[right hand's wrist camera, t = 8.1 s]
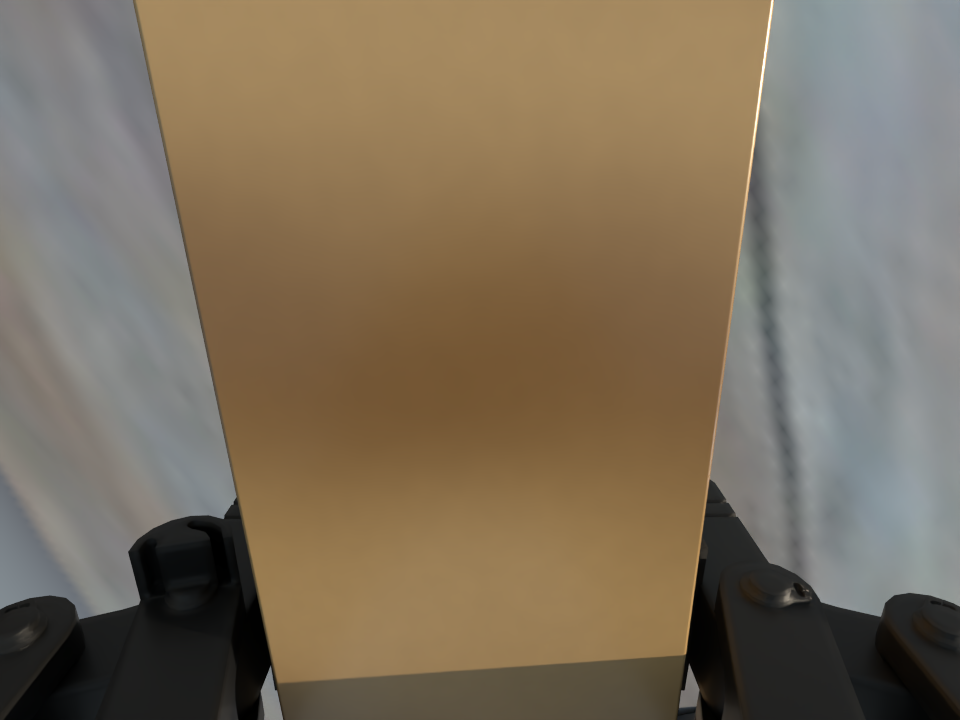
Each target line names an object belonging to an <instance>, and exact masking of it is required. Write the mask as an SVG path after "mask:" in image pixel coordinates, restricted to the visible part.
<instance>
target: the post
mask: <svg viewBox="0 0 960 720" xmlns="http://www.w3.org/2000/svg"><path fill="white" fill-rule="evenodd" d="M133 3H134V8H135V13H136V17H137V22H138V27H139V32H140V36H141V41H142V46H143V51H144V56H145V60H146V65H147V70H148V75H149V79H150V84H151V89H152V94H153V99H154V103H155V108H156V113H157V118H158V123H159V127H160V132H161V137H162V142H163V146H164V151H165V156H166V161H167V166H168V170H169V175H170V180H171V185H172V189H173V194H174V199H175V204H176V209H177V213H178V218H179V223H180V228H181V233H182V237H183V242H184V247H185V252H186V256H187V261H188V266H189V271H190V276H191V280H192V285H193V290H194V295H195V299H196V304H197V309H198V314H199V319H200V323H201V328H202V333H203V338H204V343H205V347H206V352H207V357H208V362H209V366H210V371H211V376H212V381H213V386H214V390H215V395H216V400H217V405H218V409H219V414H220V419H221V424H222V429H223V433H224V438H225V443H226V448H227V453H228V457H229V462H230V467H231V472H232V476H233V481H234V486H235V491H236V496H237V500H238V505H239V510H240V515H241V520H242V524H243V529H244V534H245V539H246V543H247V548H248V553H249V558H250V563H251V567H252V572H253V577H254V582H255V586H256V591H257V596H258V601H259V606H260V610H261V615H262V620H263V625H264V630H265V634H266V639H267V644H268V649H269V653H270V658H271V663H272V668H273V673H274V677H275V682H276V687H277V692H278V696H279V701H280V706H281V711H282V716H283V720H677V717H678V709H679V702H680V694H681V687H682V680H683V672H684V665H685V657H686V650H687V642H688V635H689V628H690V620H691V613H692V605H693V598H694V591H695V583H696V576H697V568H698V561H699V553H700V546H701V539H702V531H703V524H704V516H705V509H706V502H707V494H708V487H709V479H710V472H711V465H712V457H713V450H714V442H715V435H716V427H717V420H718V413H719V405H720V398H721V390H722V383H723V376H724V368H725V361H726V353H727V346H728V338H729V331H730V324H731V316H732V309H733V301H734V294H735V287H736V279H737V272H738V264H739V257H740V250H741V242H742V235H743V227H744V220H745V212H746V205H747V198H748V190H749V183H750V175H751V168H752V161H753V153H754V146H755V138H756V131H757V123H758V116H759V109H760V101H761V94H762V86H763V79H764V72H765V64H766V57H767V49H768V42H769V35H770V27H771V20H772V12H773V5H774V0H133Z"/></svg>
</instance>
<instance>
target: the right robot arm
mask: <svg viewBox="0 0 960 720" xmlns="http://www.w3.org/2000/svg"><path fill="white" fill-rule="evenodd" d="M224 516H225V517H224V519H220V518H216V517H212V516H189V517H185V518H180V519H176V520H172V521H169V522H167V523H165V524H162V525H160V526H158V527H156V528H153V529H152V530H150V531H149V532H148V533H146V534H145V535H143V536H142V537H141V538H139V539H138V540H137V541H136V542H135V544H134V545H133V546H132V548H131V549H130V550H129V551H128V553H129V557H130V561H131V565H132V568H133V572H134V576H135V580H136V584H137V588H138V592H139V595H140V599H141V601H140V603H139V605H137V606H133V607H130V608H127V609H123V610H119V611H114V612H110V613H106V614H101V615H97V616H92V617H88V618H84V619H79V617H78V614H77V611H76V608H75V605H74V604H72V603H71V602H70V601H69V600H68V599H67V598H63V597H56V596H43V597H36V598H29V599H26V600H23V601H20V602H17V603H14V604H11V605H8V606H6V607H4V608H2V609H0V720H264V709H263V702H262V696H261V689H262V686H263V683H264V681H265V678H266V676H267V673H268V671H269V668H270V666H271V669H272V675H273V681H274V687H275V690H277V687H276V682H275V677H274V673H273V668H272V663H271V658H270V653H269V649H268V644H267V639H266V634H265V630H264V625H263V620H262V615H261V610H260V606H259V601H258V596H257V591H256V586H255V582H254V577H253V572H252V567H251V563H250V558H249V553H248V548H247V543H246V539H245V534H244V529H243V524H242V520H241V515H240V510H239V505H238V500H237V498H236V499H235V501H234V505H231V507H230V508H229V510H228V511H227V512H226V514H225V515H224ZM689 664H690V666H691V669H692V671H693V674H694V676H695V679H696V682H697V684H698V687H699V689H700V691H699V696H698V702H697V707H696V713H690V714H684V715H680V716H678V717H677V720H960V607H959V606H957V605H955V604H954V603H951V602H948V601H945V600H942V599H939V598H936V597H933V596H929V595H921V594H914V593H907V594H900V595H894V596H893V597H892V598H891V599H889V600H888V601H887V602H886V603H885V606H884V609H883V612H882V616H881V617H878V616H874V615H870V614H865V613H861V612H856V611H852V610H847V609H843V608H839V607H835V606H831V605H828V604H825V603H821V602H820V600H819V598H818V596H817V595H816V593H815V592H814V590H813V589H812V587H811V586H810V585H809V584H807V583H806V582H805V581H804V580H802V579H801V578H800V577H799V576H798V575H796V574H794V573H792V572H790V571H788V570H786V569H784V568H782V567H780V566H778V565H774V564H770V563H769V562H768V561H767V559H766V558H765V557H764V555H763V554H762V552H761V551H760V549H759V548H758V546H757V545H756V543H755V542H754V540H753V539H752V537H751V536H750V534H749V533H748V531H747V530H746V528H745V527H744V525H743V524H742V522H741V521H740V519H739V518H738V517H736V516H735V512H734V511H733V509H732V508H731V506H730V505H729V503H726V499H725V497H724V496H723V494H722V493H721V491H720V490H719V488H718V487H717V485H716V484H715V483H714V482H713V481H711V480H710V479H709V487H708V494H707V502H706V509H705V516H704V524H703V531H702V539H701V546H700V553H699V561H698V568H697V576H696V583H695V591H694V598H693V605H692V613H691V620H690V628H689V635H688V642H687V650H686V657H685V665H684V672H683V680H682V687H681V690H685V684H686V678H687V672H688V666H689Z"/></svg>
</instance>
